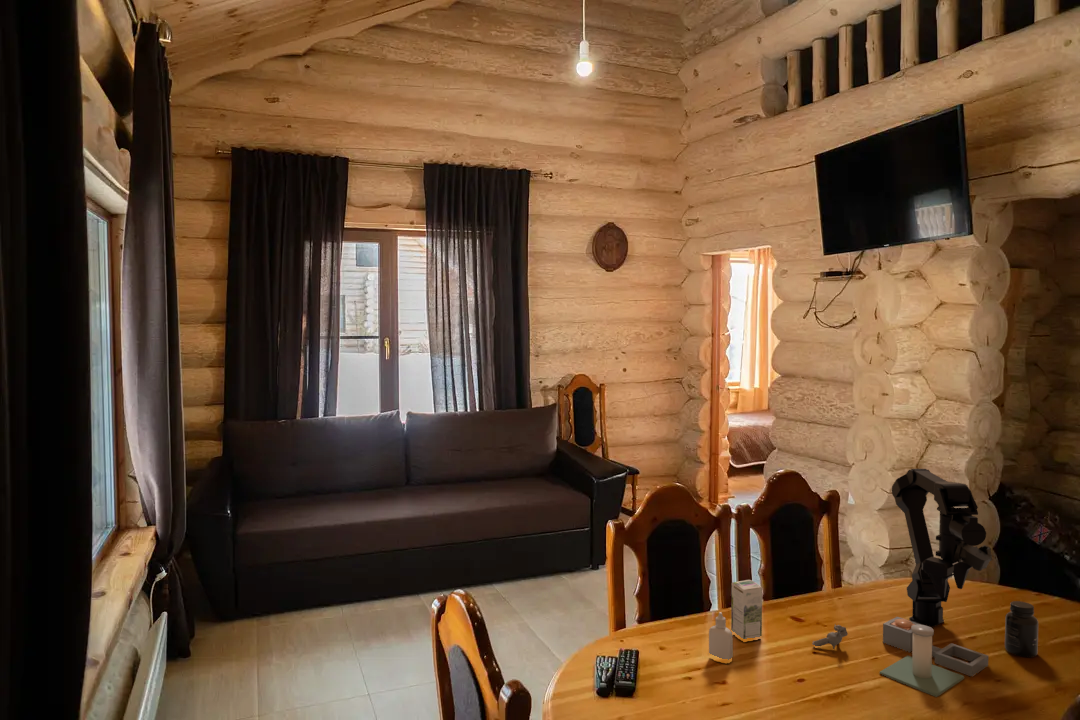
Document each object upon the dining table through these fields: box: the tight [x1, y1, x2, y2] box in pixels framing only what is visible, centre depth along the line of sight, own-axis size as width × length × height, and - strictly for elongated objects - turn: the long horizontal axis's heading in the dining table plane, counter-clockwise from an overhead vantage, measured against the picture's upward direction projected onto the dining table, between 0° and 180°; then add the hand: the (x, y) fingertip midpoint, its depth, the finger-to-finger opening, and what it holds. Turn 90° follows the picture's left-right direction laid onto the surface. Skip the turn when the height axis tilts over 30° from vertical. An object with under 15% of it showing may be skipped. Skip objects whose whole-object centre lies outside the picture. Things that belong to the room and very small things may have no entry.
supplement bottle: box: [1004, 600, 1039, 658], centre depth 180 cm, size 7×7×12 cm
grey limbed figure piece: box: [811, 623, 849, 650], centre depth 184 cm, size 10×6×9 cm
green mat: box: [879, 655, 965, 698], centre depth 170 cm, size 13×13×1 cm
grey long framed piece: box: [882, 616, 989, 677], centre depth 180 cm, size 22×8×5 cm, turn 36°
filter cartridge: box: [911, 624, 935, 678], centre depth 169 cm, size 5×5×11 cm
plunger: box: [891, 618, 915, 631], centre depth 186 cm, size 4×4×6 cm
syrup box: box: [730, 579, 763, 639], centre depth 191 cm, size 6×6×14 cm
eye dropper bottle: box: [708, 611, 734, 660], centre depth 179 cm, size 4×6×12 cm
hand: (951, 593), depth 185 cm, fingers open, 9 cm apart
